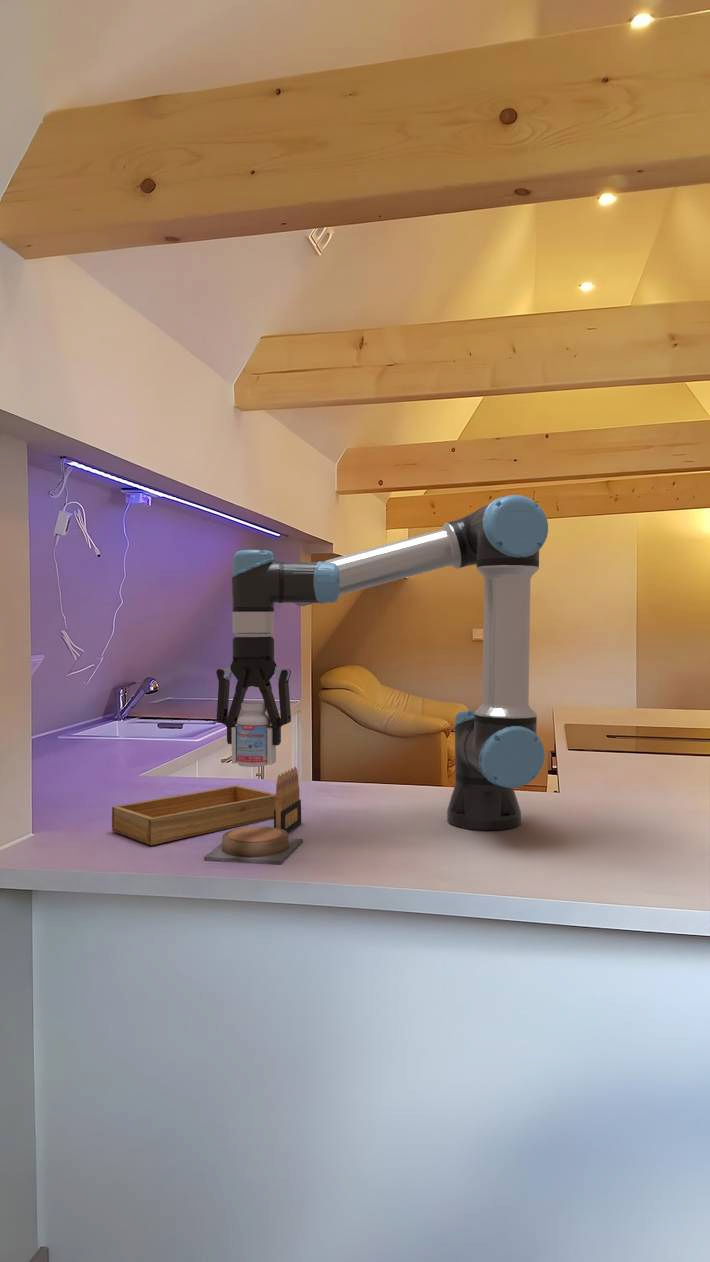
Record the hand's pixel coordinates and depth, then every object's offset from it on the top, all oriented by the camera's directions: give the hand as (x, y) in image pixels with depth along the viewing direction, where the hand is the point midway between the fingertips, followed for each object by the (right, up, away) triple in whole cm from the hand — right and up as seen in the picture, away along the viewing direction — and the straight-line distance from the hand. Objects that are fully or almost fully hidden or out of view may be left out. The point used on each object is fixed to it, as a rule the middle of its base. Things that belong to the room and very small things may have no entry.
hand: (253, 762), depth 141 cm
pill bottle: (0, -1, 0) cm, 1 cm away
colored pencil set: (+5, -16, +14) cm, 22 cm away
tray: (-14, -17, +19) cm, 29 cm away
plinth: (0, -16, 0) cm, 16 cm away
